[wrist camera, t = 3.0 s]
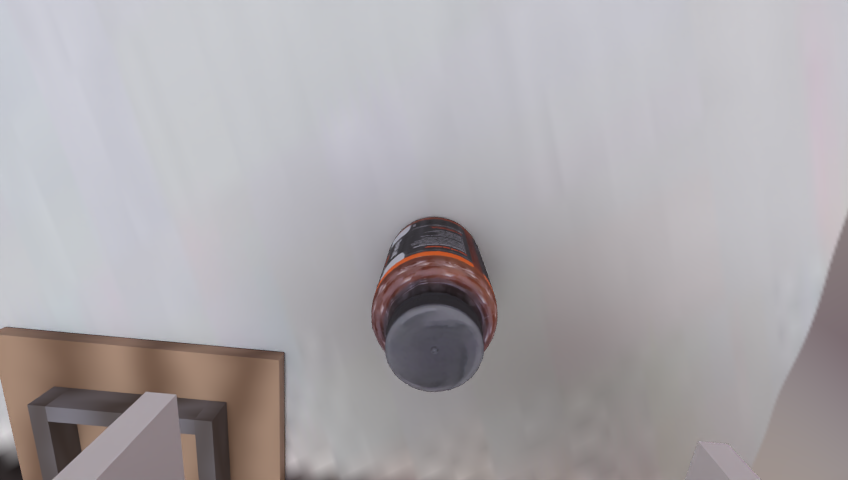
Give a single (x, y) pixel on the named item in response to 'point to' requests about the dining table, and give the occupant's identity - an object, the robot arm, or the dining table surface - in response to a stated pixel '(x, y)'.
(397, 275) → the supplement bottle
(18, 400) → the holder board
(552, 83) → the dining table surface
